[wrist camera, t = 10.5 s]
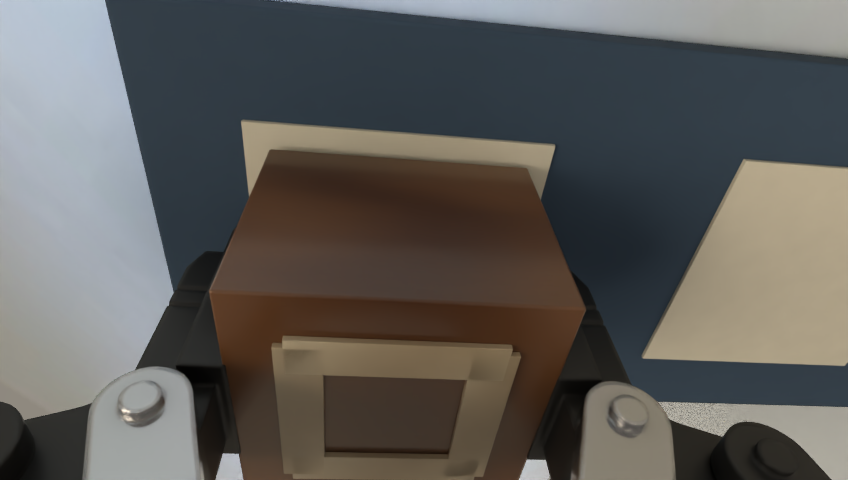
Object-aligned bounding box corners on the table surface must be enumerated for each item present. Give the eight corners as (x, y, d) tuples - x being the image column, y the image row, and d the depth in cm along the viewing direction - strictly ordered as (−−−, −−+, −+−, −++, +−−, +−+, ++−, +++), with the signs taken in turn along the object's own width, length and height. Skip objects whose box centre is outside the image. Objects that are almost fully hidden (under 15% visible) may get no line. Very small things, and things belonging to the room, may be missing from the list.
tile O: (283, 333, 13) (243, 500, 9) (268, 148, 10) (204, 296, 7) (484, 341, 13) (513, 503, 10) (527, 167, 10) (590, 314, 7)
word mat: (201, 371, 15) (194, 392, 14) (116, -16, 9) (98, -8, 8) (850, 392, 17) (866, 411, 16) (1132, 86, 11) (1173, 99, 10)
